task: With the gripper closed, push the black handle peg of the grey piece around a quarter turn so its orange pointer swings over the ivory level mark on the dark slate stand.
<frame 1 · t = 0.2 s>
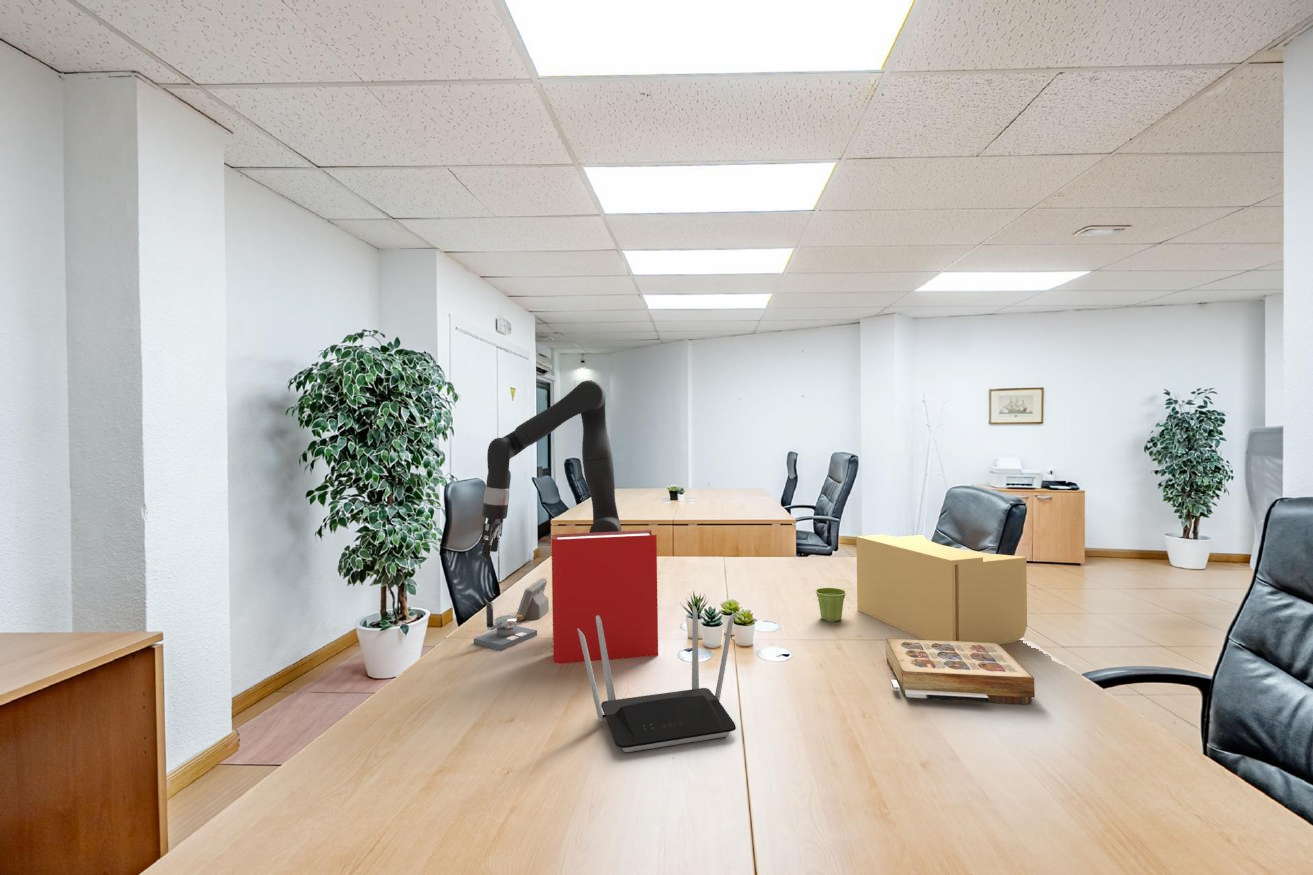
hand: (489, 554, 185), 22 cm above the table, tool pointing down, fingers open, 8 cm apart
digital clock: (532, 615, 196), on the table
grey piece: (504, 612, 172), point 8 cm above the table, hinge at 0.0°
stand: (506, 639, 173), on the table
book 2: (605, 655, 160), on the table
flat wooden box: (950, 685, 138), on the table
cardboard box: (935, 624, 181), on the table
plant pot: (831, 619, 187), on the table
wireless router: (662, 721, 123), on the table
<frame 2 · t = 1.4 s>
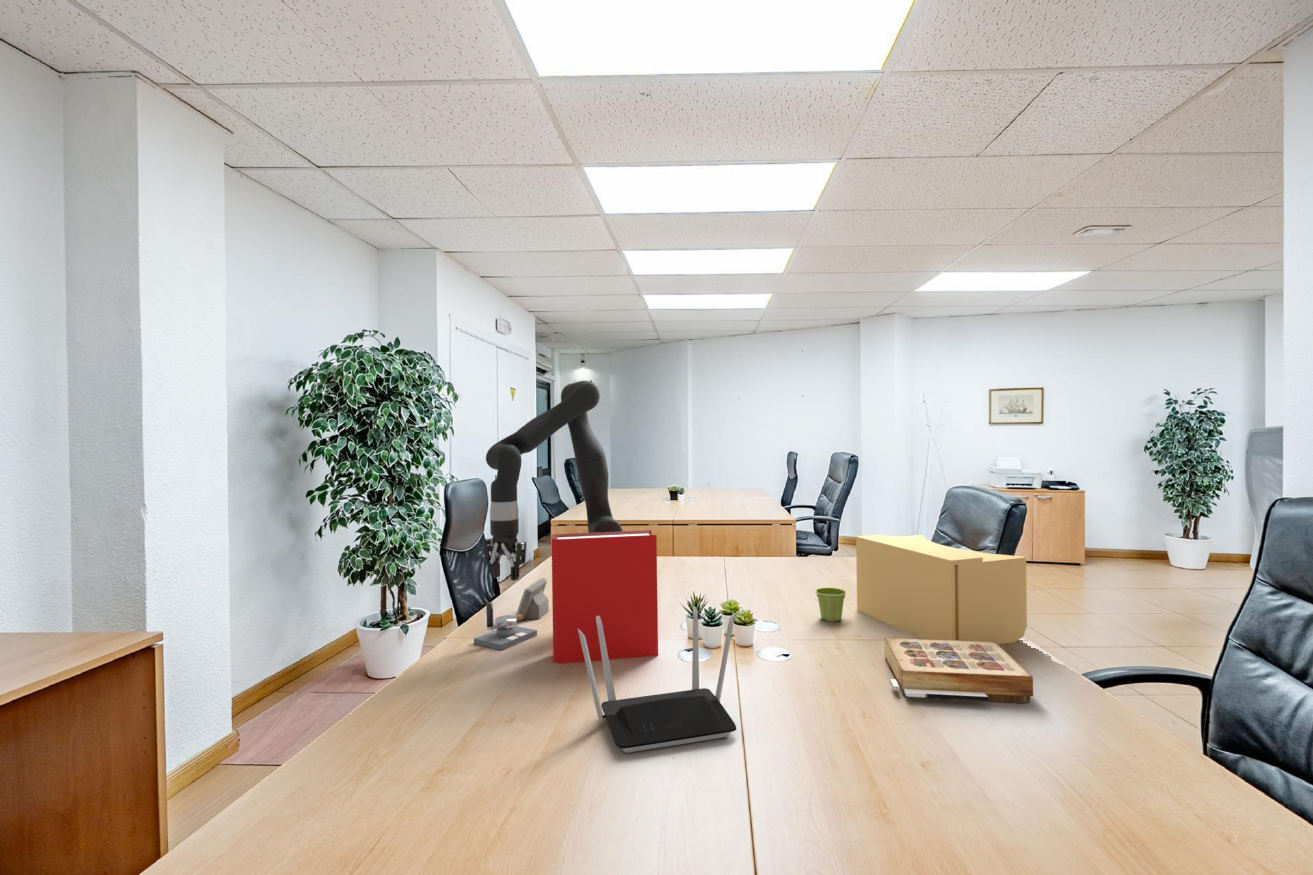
hand: (505, 578, 164), 20 cm above the table, tool pointing down, fingers open, 6 cm apart
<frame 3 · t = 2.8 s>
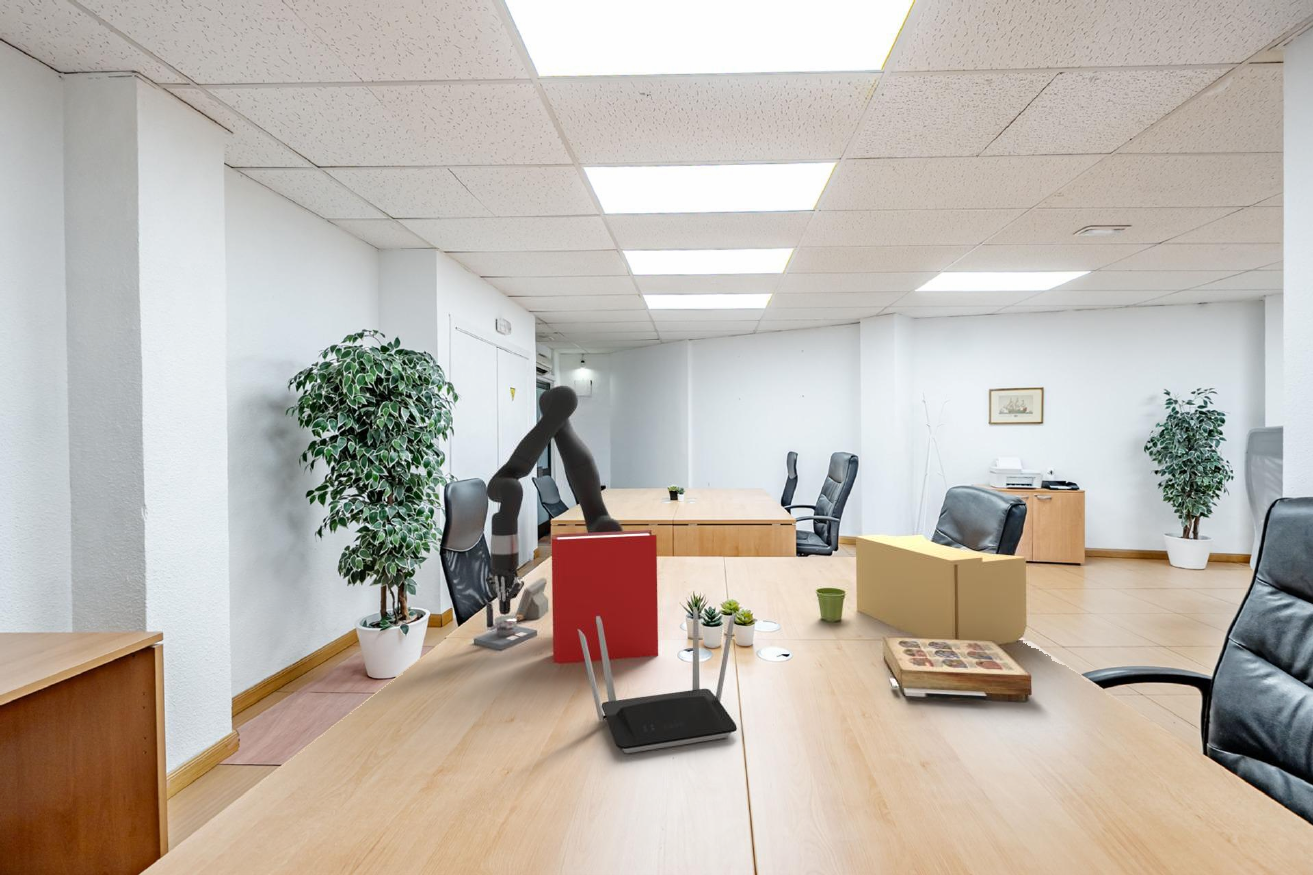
hand: (504, 613, 164), 10 cm above the table, tool pointing down, fingers closed
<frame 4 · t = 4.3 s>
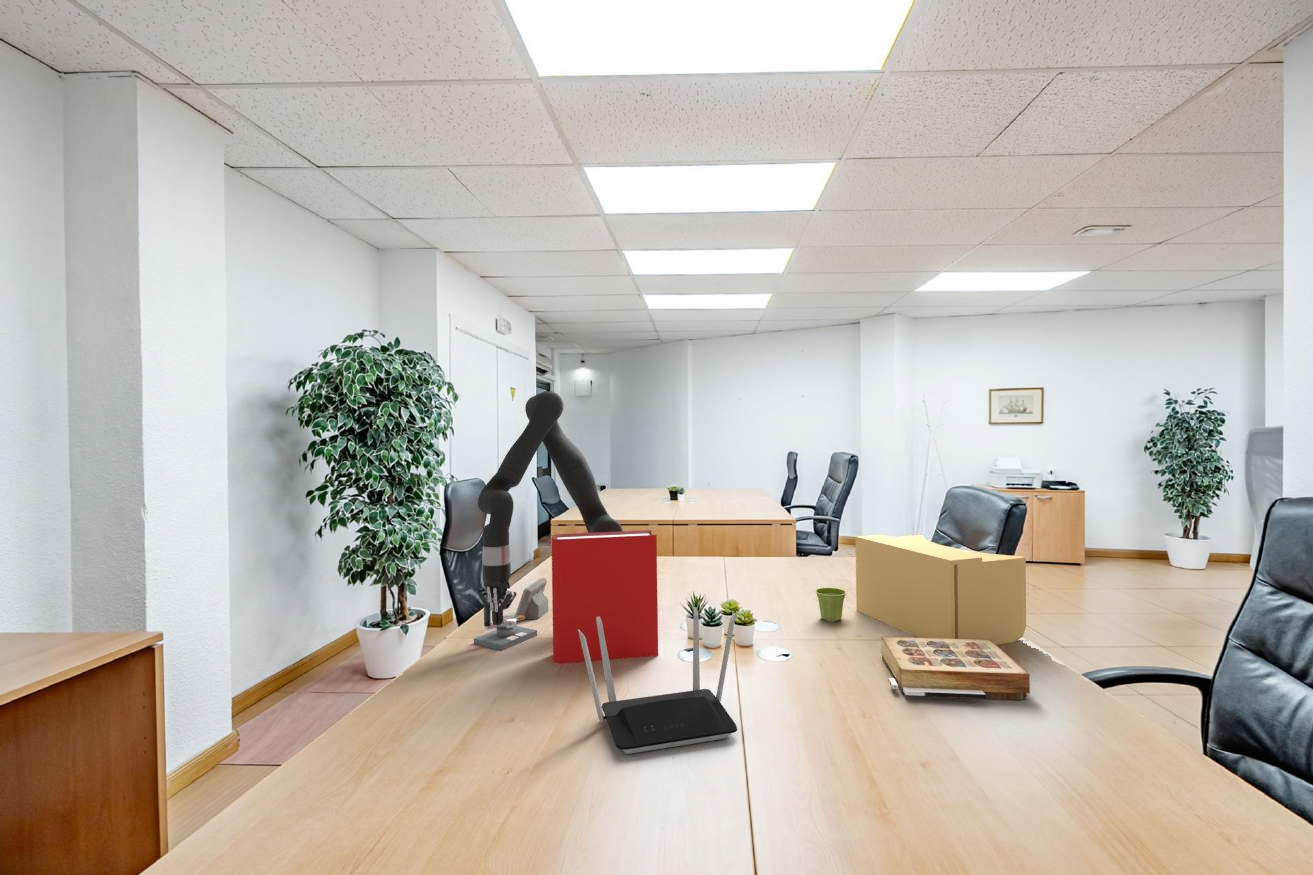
hand: (497, 624, 165), 7 cm above the table, tool pointing down, fingers closed
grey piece: (504, 611, 172), point 8 cm above the table, hinge at -11.0°, touching hand
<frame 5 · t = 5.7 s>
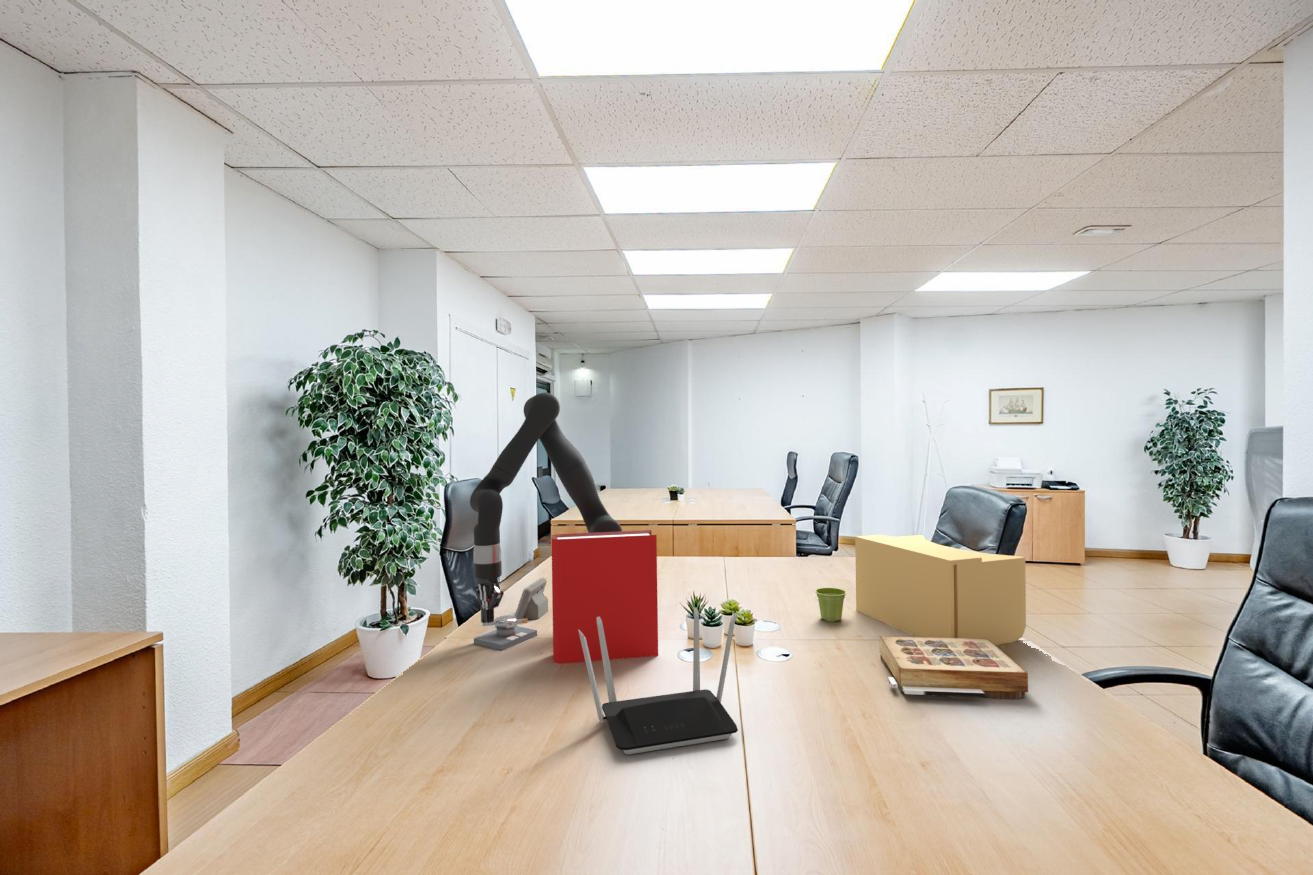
hand: (489, 621, 168), 7 cm above the table, tool pointing down, fingers closed
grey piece: (504, 611, 173), point 8 cm above the table, hinge at -49.3°, touching hand
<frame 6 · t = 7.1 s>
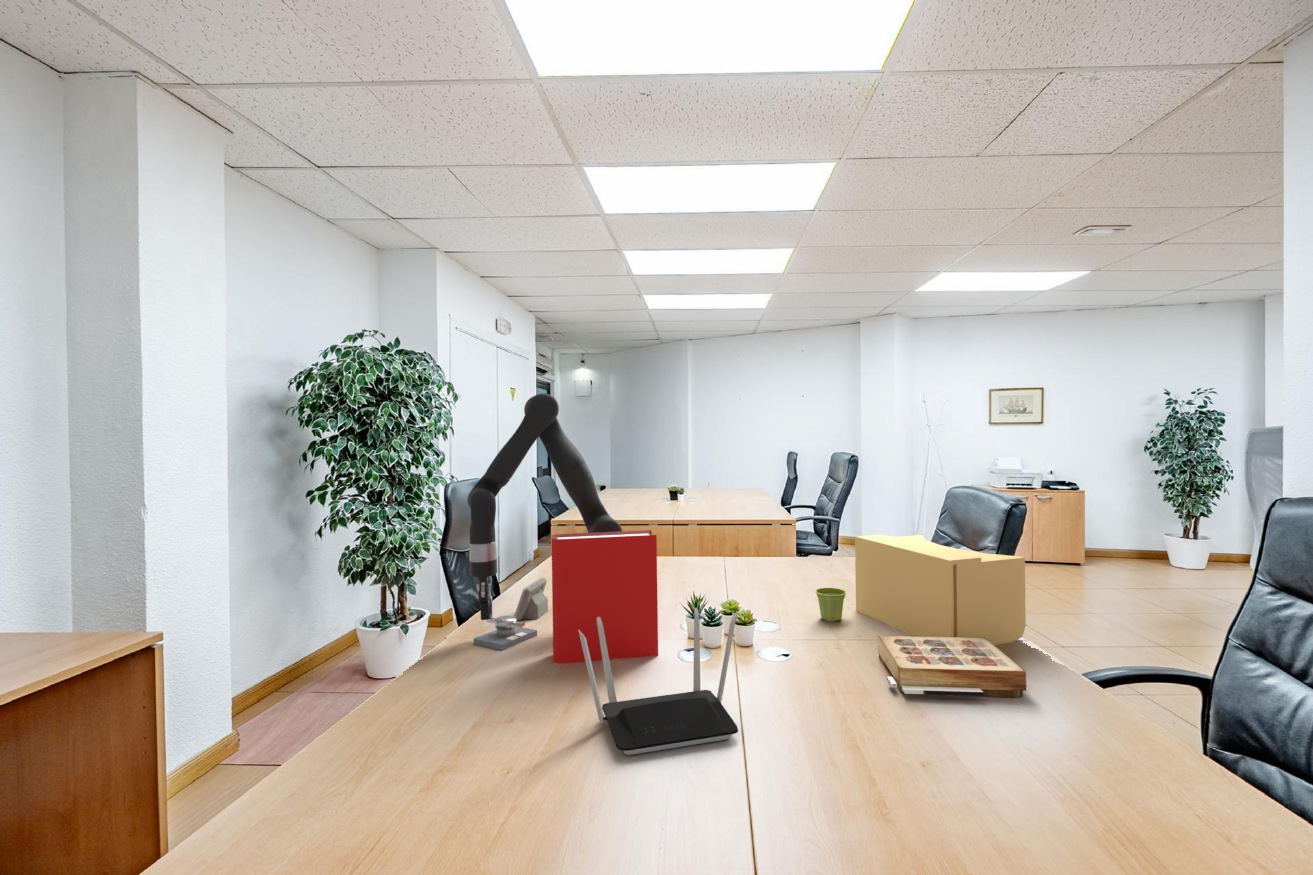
hand: (484, 618, 170), 7 cm above the table, tool pointing down, fingers closed
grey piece: (504, 611, 173), point 8 cm above the table, hinge at -82.8°, touching hand
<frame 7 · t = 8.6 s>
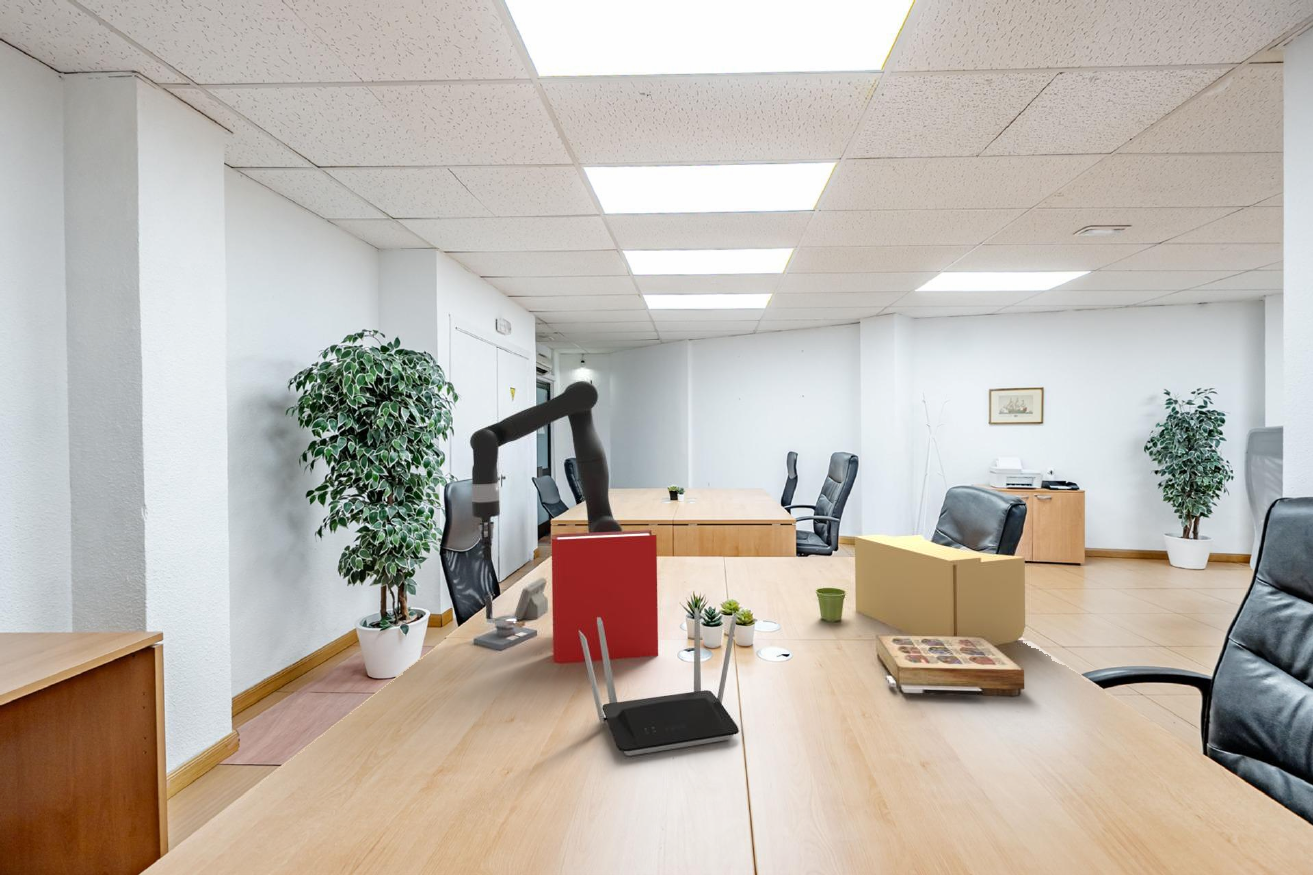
hand: (487, 560, 171), 23 cm above the table, tool pointing down, fingers closed
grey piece: (504, 611, 173), point 8 cm above the table, hinge at -83.2°
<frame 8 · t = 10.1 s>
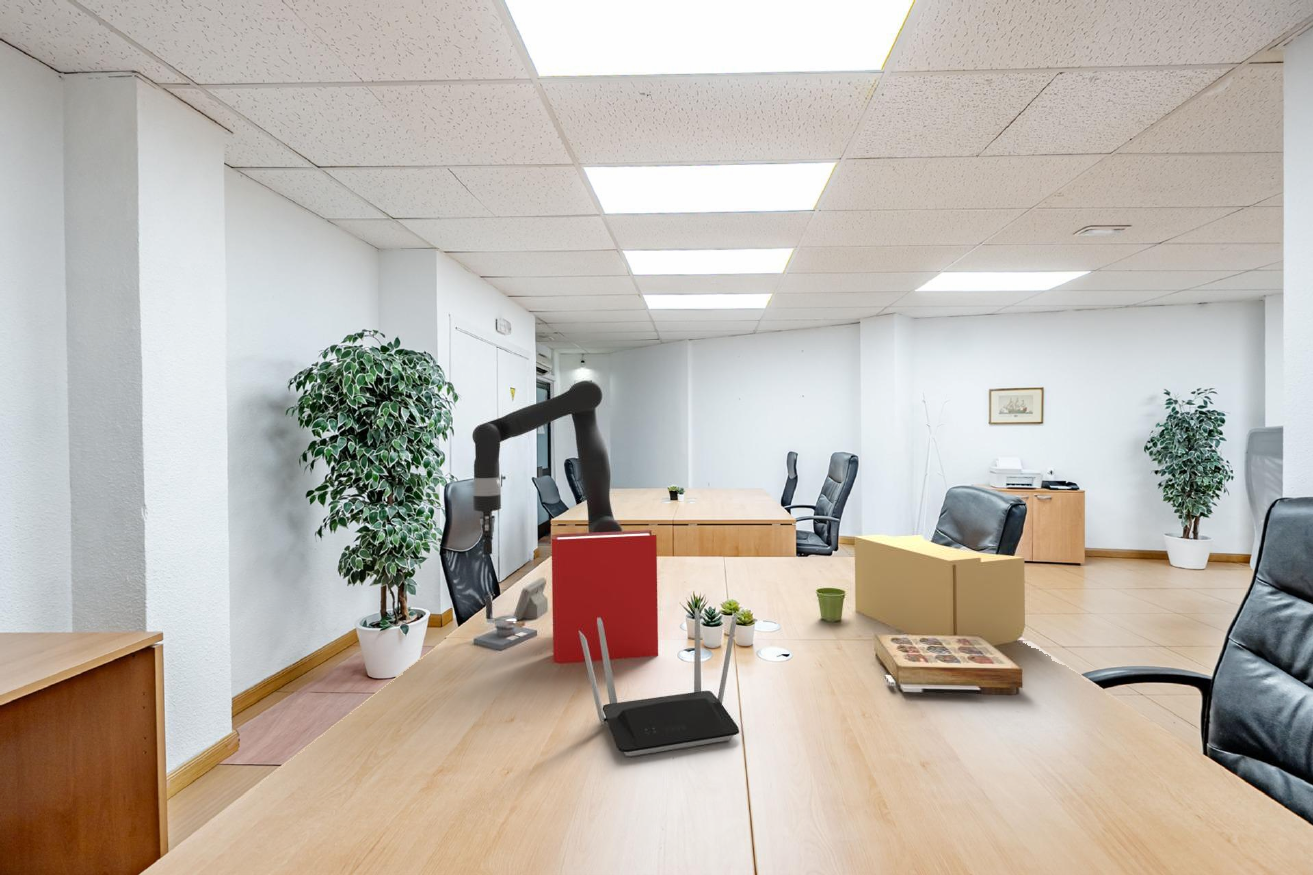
hand: (488, 553, 171), 25 cm above the table, tool pointing down, fingers closed
at the end: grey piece at -83° (first picture: +0°); the gripper is holding nothing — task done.
